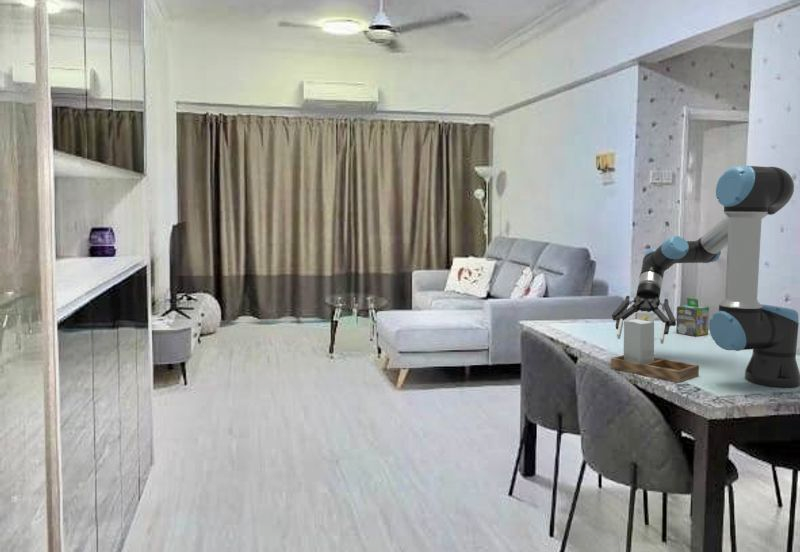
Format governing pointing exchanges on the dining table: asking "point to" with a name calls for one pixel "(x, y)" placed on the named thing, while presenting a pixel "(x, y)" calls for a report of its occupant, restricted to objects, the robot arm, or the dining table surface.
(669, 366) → the wooden divided tray
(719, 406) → the dining table surface
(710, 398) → the dining table surface
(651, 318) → the beige printed box
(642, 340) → the skincare box
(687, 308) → the chalk box
